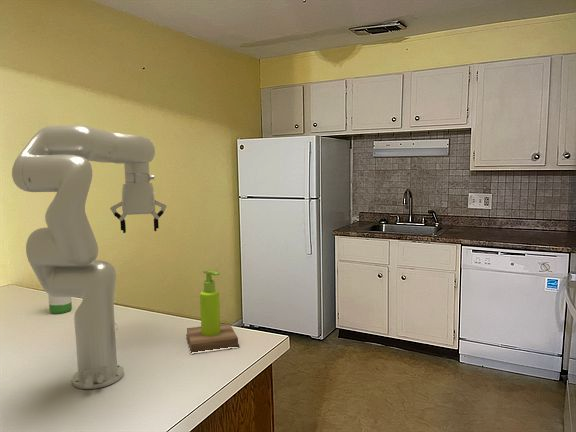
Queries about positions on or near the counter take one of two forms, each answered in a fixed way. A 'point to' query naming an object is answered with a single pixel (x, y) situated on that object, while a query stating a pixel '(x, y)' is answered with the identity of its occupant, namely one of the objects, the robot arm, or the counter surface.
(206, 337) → the plinth
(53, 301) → the wine bottle
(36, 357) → the counter surface
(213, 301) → the soap dispenser
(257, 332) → the counter surface
